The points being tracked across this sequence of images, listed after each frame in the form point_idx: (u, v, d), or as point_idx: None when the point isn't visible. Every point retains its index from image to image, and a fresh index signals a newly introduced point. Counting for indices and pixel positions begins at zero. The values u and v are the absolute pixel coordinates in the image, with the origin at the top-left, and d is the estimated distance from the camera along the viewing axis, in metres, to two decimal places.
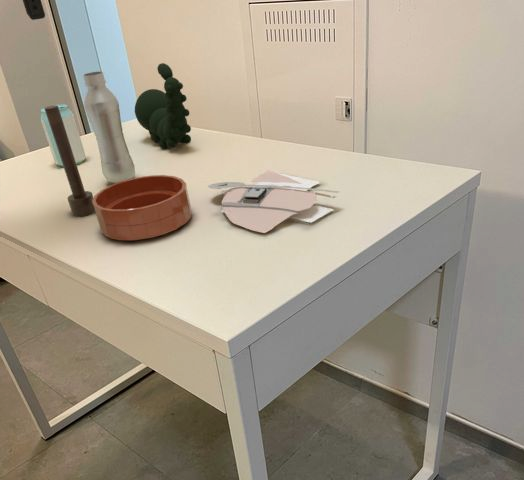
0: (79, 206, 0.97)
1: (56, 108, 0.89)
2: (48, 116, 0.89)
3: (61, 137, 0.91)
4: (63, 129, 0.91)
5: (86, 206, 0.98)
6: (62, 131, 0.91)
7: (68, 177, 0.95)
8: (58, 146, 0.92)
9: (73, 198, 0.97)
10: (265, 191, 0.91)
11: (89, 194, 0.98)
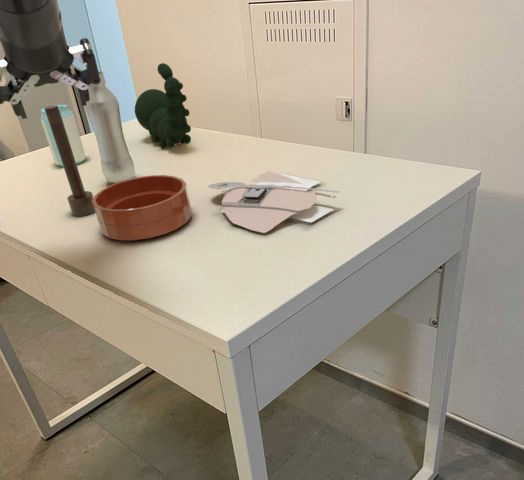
0: (79, 206, 0.97)
1: (56, 108, 0.89)
2: (48, 116, 0.89)
3: (61, 137, 0.91)
4: (63, 129, 0.91)
5: (86, 206, 0.98)
6: (62, 131, 0.91)
7: (68, 177, 0.95)
8: (58, 146, 0.92)
9: (73, 198, 0.97)
10: (265, 191, 0.91)
11: (89, 194, 0.98)
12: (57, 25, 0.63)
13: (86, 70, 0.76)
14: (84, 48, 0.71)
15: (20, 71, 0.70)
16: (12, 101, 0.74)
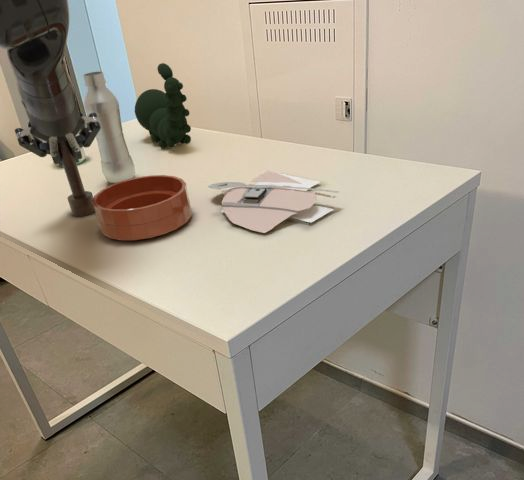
0: (79, 206, 0.97)
1: None
2: None
3: None
4: None
5: (86, 206, 0.98)
6: None
7: (68, 177, 0.95)
8: (58, 146, 0.92)
9: (73, 198, 0.97)
10: (265, 191, 0.91)
11: (89, 194, 0.98)
12: (72, 102, 0.79)
13: (79, 136, 0.92)
14: (94, 120, 0.88)
15: (41, 133, 0.85)
16: (53, 154, 0.91)
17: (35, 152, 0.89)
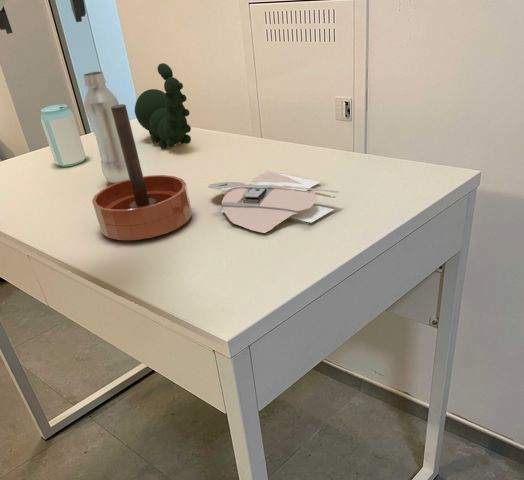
0: None
1: (124, 107, 0.81)
2: (115, 116, 0.81)
3: (127, 139, 0.83)
4: (130, 130, 0.83)
5: None
6: (129, 133, 0.83)
7: (132, 183, 0.87)
8: (123, 149, 0.84)
9: (136, 206, 0.89)
10: (265, 191, 0.91)
11: (153, 201, 0.90)
12: None
13: None
14: None
15: None
16: None
17: None
